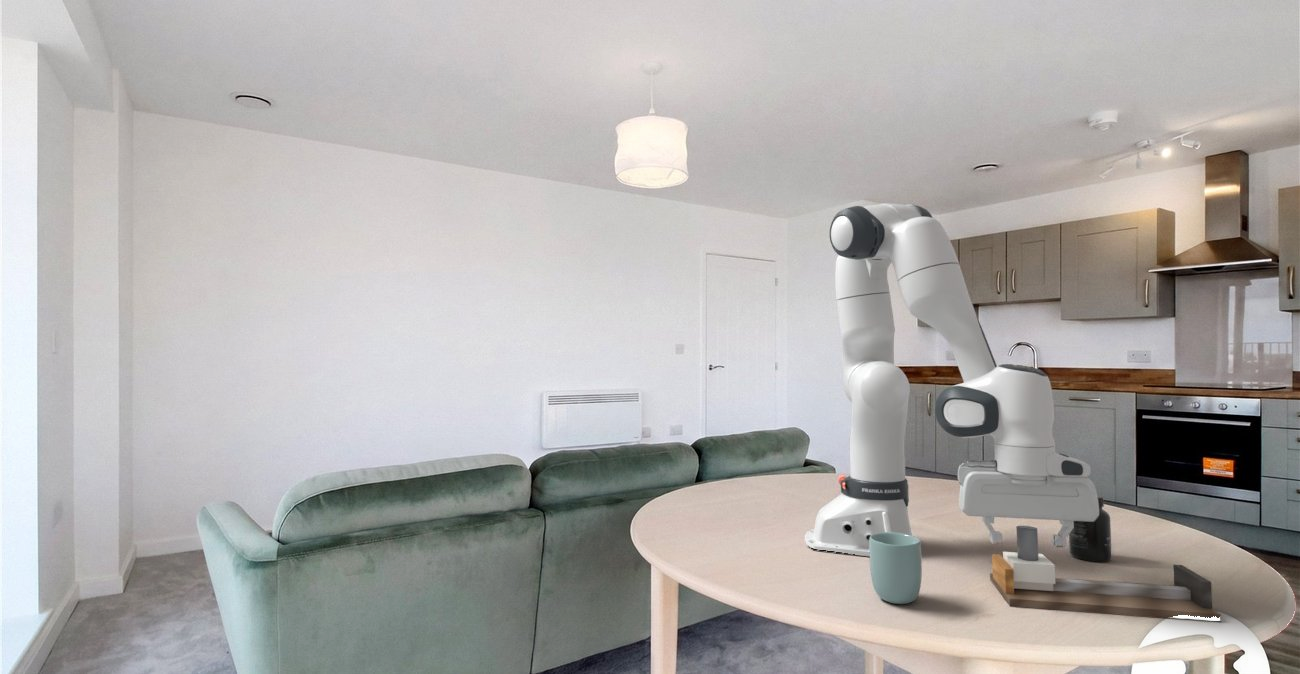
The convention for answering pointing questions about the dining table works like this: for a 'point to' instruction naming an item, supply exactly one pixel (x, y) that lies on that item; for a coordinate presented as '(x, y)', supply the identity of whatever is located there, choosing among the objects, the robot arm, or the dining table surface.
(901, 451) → the robot arm
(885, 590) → the cup
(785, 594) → the dining table surface
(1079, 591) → the rail track
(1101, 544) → the supplement bottle
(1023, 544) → the slider
